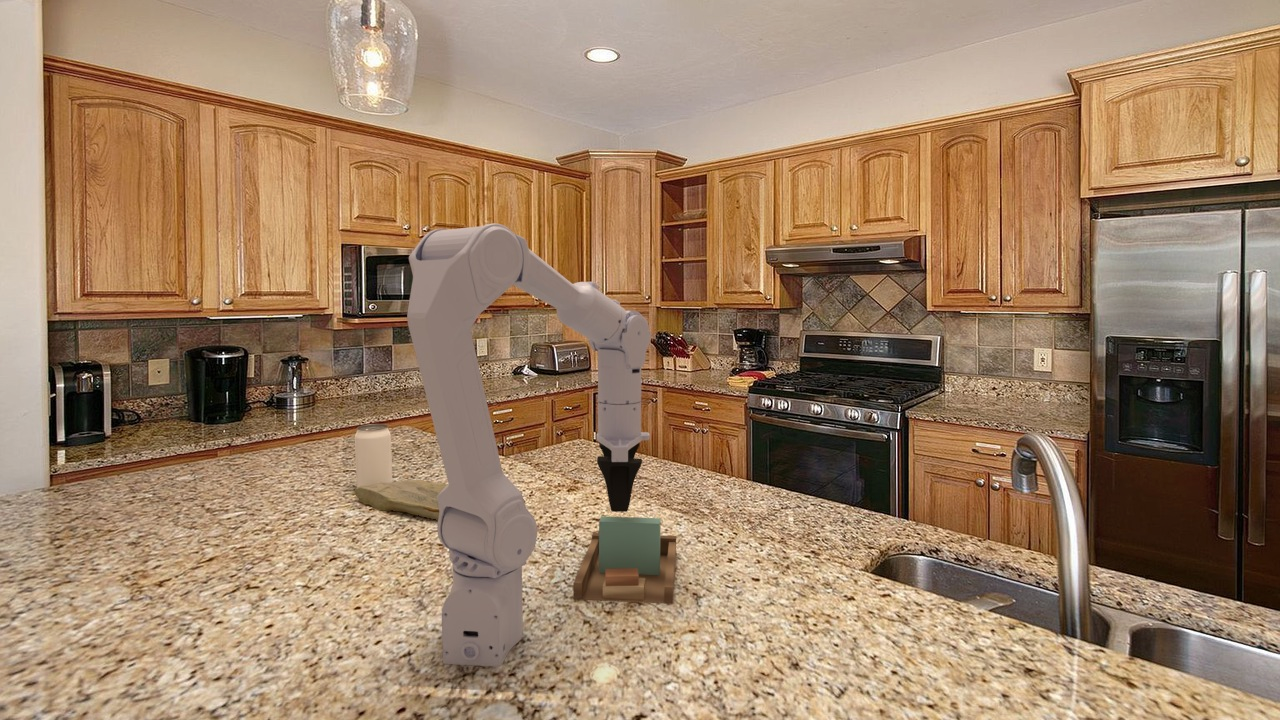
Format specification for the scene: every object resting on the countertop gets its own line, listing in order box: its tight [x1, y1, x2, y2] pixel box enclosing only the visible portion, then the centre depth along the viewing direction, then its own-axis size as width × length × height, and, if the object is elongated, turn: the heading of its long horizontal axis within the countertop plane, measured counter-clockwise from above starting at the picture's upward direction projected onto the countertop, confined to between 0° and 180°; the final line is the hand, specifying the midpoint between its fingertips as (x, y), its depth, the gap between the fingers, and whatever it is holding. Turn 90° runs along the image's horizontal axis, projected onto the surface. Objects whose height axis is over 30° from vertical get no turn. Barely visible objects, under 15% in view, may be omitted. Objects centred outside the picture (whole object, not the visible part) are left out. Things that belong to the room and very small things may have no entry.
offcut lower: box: [603, 577, 645, 600], centre depth 78 cm, size 2×5×2 cm, turn 85°
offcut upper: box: [606, 568, 639, 586], centre depth 77 cm, size 2×4×1 cm, turn 93°
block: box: [598, 515, 661, 575], centre depth 84 cm, size 2×8×7 cm, turn 85°
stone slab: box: [354, 479, 449, 521], centre depth 112 cm, size 12×4×30 cm
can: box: [354, 423, 393, 488], centre depth 123 cm, size 6×6×12 cm
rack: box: [572, 532, 677, 605], centre depth 83 cm, size 15×12×3 cm
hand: (619, 501), depth 85 cm, fingers open, 7 cm apart
